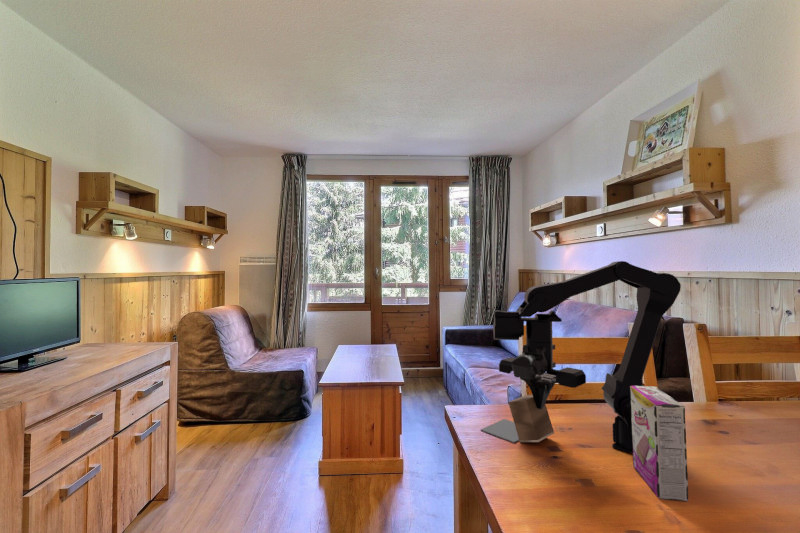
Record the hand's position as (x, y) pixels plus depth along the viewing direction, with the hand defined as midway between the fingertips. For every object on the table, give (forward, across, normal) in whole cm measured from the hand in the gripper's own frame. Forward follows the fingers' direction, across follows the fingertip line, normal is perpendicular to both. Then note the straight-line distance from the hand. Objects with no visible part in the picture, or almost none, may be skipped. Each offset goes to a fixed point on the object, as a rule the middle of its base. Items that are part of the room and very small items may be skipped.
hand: (540, 408), depth 87 cm
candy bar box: (+8, +23, 0) cm, 24 cm away
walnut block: (+7, -1, 0) cm, 7 cm away
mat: (+8, -9, 0) cm, 12 cm away
